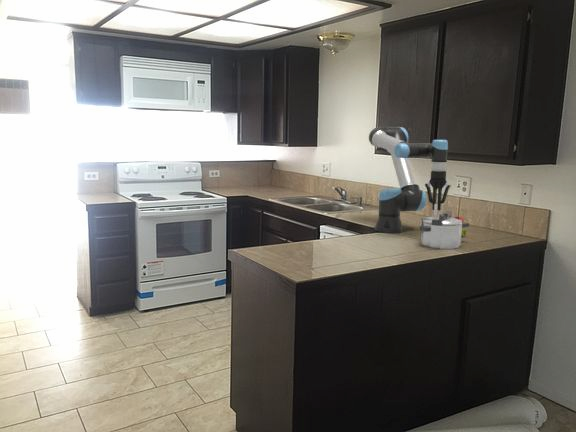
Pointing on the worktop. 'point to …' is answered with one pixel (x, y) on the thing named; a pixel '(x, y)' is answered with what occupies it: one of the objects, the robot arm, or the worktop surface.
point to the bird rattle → (462, 222)
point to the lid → (442, 219)
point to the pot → (441, 235)
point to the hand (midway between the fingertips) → (436, 216)
